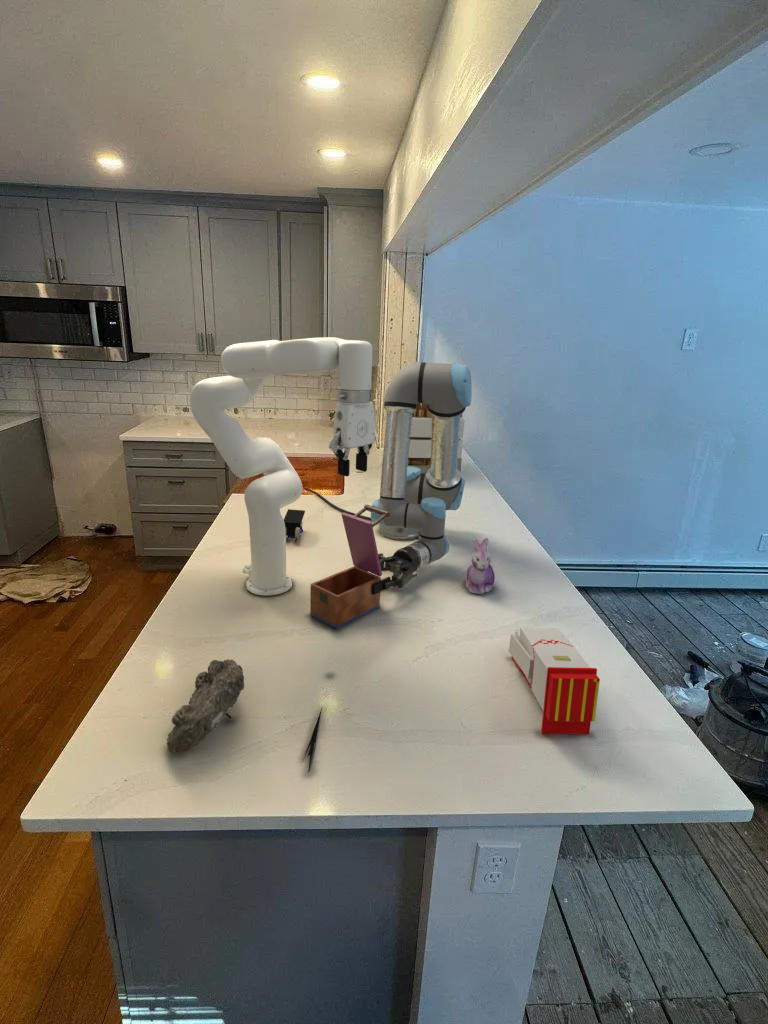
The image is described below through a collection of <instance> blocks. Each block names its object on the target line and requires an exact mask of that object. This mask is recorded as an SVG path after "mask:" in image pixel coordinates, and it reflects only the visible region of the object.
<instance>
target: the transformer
mask: <svg viewBox="0 0 768 1024" xmlns="http://www.w3.org/2000/svg"><path fill="white" fill-rule="evenodd" d="M385 414H386V415H385V417H386V416H387V411H386V413H385ZM431 426H432V414H431V413H429V411H428V410H427V404H426V403H417V407H416V411H415V412H414V413H413V414H412V423H411V435H410V446H409V457H408V467H417V466H418V467H431ZM464 429H465V419H464V418H463V413H462V414H461V415H460V426H459V442H458V459H457V469H458V470H459V471H460V473H461V472H462V461H463V460H462V453H463V442H464V441H463V440H462V439H463V438H464V431H465V430H464ZM461 474H462V473H461Z"/></svg>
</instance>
